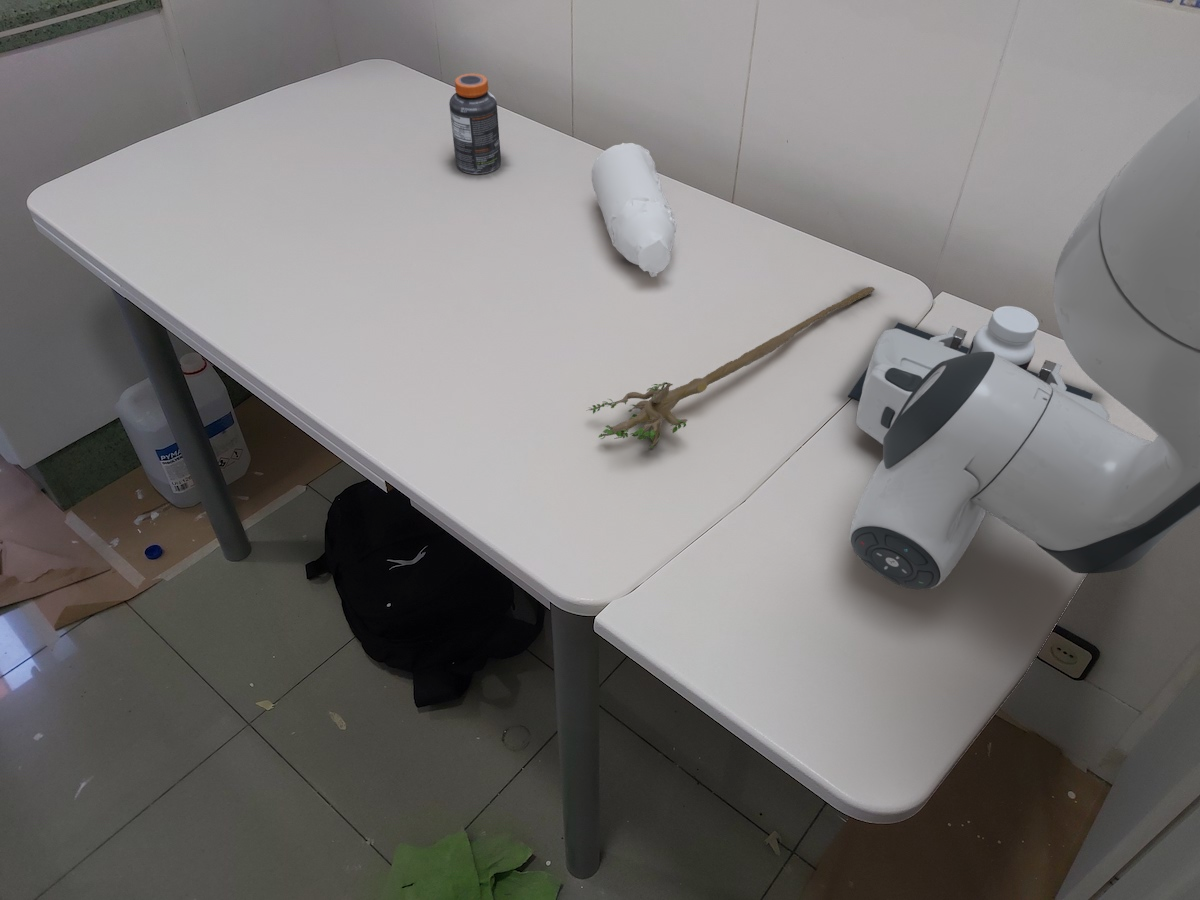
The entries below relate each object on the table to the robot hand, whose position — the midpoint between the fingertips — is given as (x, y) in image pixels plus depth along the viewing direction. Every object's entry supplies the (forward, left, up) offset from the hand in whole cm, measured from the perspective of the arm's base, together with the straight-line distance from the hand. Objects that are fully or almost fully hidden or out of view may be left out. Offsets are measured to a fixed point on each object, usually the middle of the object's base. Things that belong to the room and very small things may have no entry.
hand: (1003, 350), depth 83 cm
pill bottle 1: (+69, -7, -6) cm, 70 cm away
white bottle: (+42, -4, -6) cm, 43 cm away
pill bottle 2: (0, +1, -6) cm, 6 cm away
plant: (+20, +10, -6) cm, 23 cm away
